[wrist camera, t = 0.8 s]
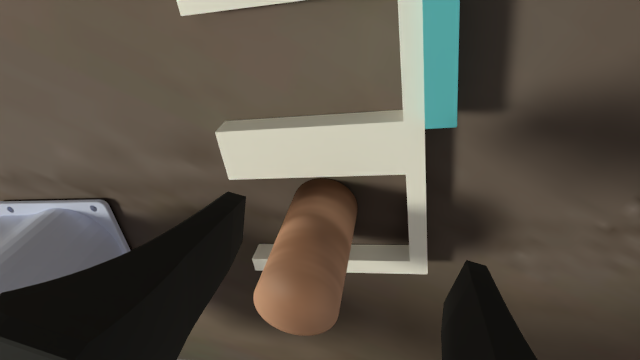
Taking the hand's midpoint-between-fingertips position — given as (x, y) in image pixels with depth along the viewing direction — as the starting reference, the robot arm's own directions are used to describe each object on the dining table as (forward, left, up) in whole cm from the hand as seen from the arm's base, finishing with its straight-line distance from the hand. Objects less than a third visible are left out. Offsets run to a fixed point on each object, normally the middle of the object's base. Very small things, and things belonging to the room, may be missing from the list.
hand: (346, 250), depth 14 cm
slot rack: (-2, -1, -11) cm, 11 cm away
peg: (-3, -6, -11) cm, 12 cm away
